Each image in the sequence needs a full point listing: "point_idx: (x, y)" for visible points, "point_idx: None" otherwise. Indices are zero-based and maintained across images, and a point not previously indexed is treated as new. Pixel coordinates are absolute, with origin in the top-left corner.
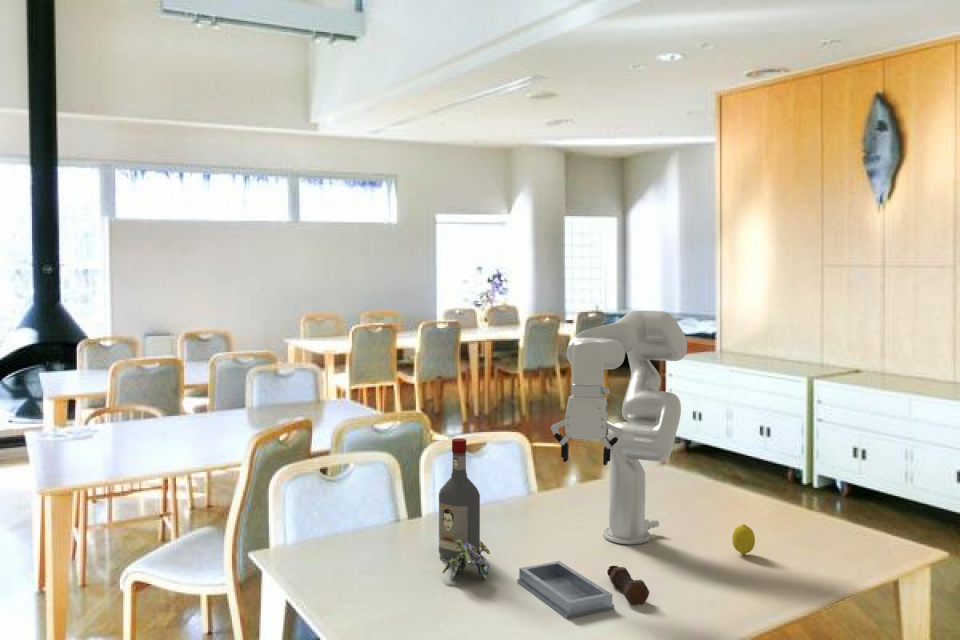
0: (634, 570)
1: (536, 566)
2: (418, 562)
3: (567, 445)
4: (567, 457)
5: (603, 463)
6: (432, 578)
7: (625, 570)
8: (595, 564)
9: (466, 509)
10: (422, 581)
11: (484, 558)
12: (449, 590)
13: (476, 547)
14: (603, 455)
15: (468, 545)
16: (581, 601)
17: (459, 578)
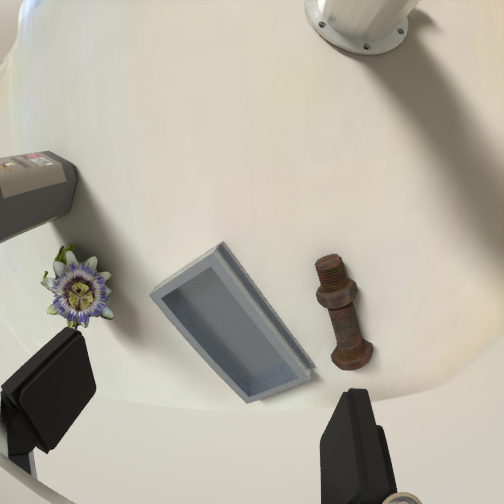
0: (371, 203)
1: (174, 285)
2: None
3: (39, 432)
4: (79, 371)
5: (321, 446)
6: None
7: (348, 303)
8: (292, 177)
9: (4, 238)
10: None
11: (89, 273)
12: None
13: (65, 190)
14: (321, 488)
15: (61, 307)
16: (263, 397)
17: None
